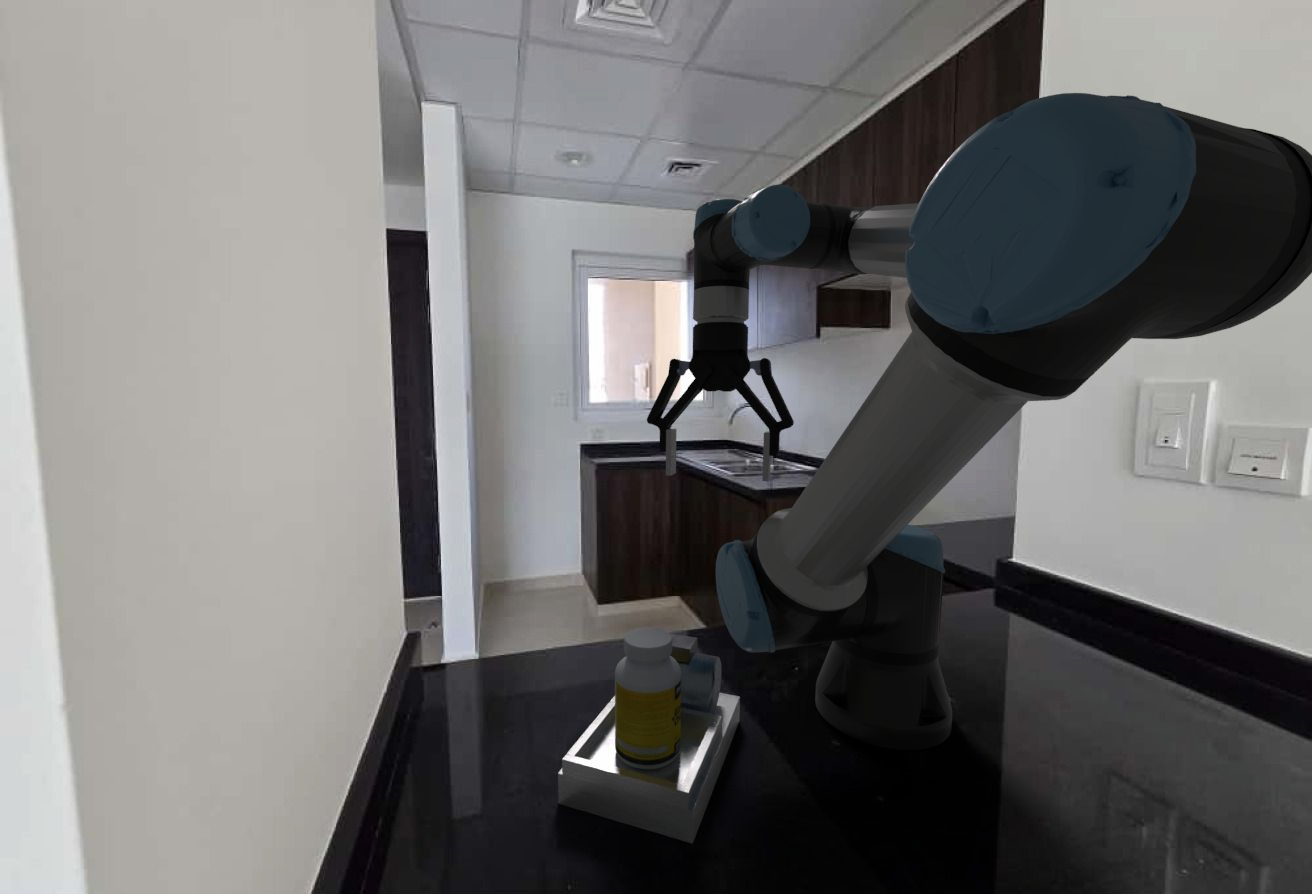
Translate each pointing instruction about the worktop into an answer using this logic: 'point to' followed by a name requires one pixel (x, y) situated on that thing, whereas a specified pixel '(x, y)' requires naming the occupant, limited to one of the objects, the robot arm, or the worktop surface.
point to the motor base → (668, 792)
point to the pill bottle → (647, 700)
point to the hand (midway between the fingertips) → (717, 477)
